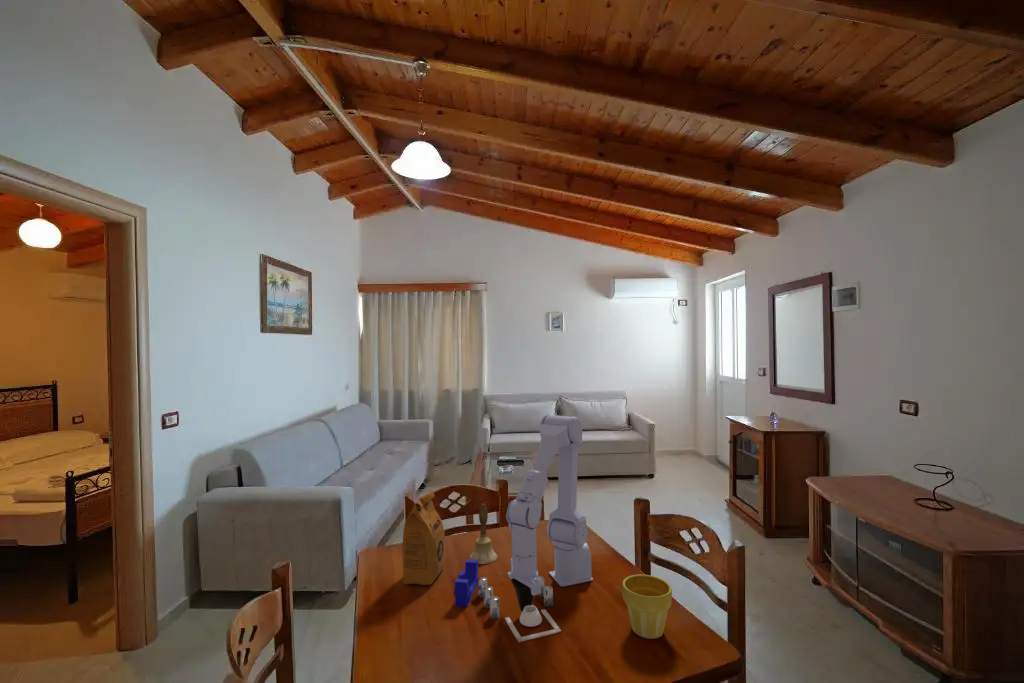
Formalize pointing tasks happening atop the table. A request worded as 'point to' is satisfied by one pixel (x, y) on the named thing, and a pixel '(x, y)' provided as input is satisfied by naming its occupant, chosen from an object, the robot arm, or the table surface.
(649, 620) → the plant pot
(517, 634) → the outline bay
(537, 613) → the white jar
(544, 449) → the robot arm
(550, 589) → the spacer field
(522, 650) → the table surface
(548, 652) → the table surface
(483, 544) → the hand bell
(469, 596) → the blue curved block
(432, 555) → the coffee package
